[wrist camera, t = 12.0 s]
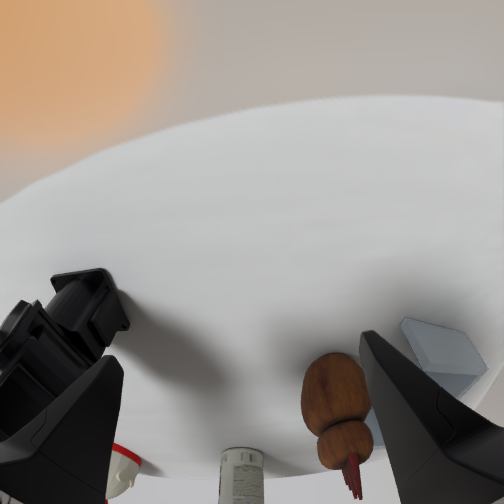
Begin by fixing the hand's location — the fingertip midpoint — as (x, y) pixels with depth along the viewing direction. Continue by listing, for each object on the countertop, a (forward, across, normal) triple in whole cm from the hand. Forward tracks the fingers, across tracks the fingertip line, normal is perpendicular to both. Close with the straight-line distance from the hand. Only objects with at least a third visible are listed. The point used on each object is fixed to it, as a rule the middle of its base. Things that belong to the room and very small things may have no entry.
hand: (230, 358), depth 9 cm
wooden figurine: (+12, -6, +16) cm, 21 cm away
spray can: (+12, +7, +38) cm, 41 cm away
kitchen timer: (+12, +35, +42) cm, 56 cm away
